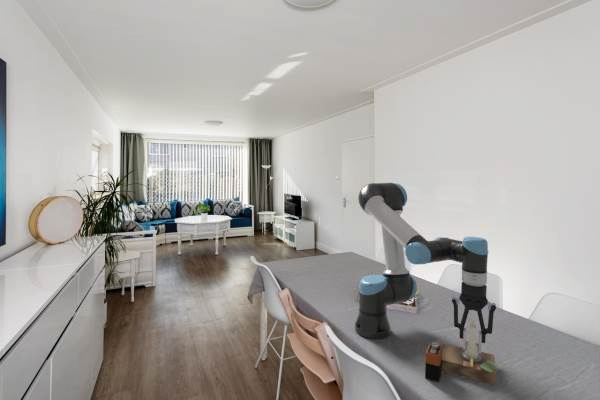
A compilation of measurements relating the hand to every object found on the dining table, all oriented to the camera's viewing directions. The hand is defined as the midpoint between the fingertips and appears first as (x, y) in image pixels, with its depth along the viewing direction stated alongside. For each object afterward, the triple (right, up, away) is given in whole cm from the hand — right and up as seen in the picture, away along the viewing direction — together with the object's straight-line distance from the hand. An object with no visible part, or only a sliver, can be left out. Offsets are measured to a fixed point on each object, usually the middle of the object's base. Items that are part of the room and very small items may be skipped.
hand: (471, 349), depth 110 cm
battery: (-15, -8, -3) cm, 17 cm away
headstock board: (-3, -7, +2) cm, 8 cm away
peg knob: (-1, -3, -1) cm, 4 cm away
